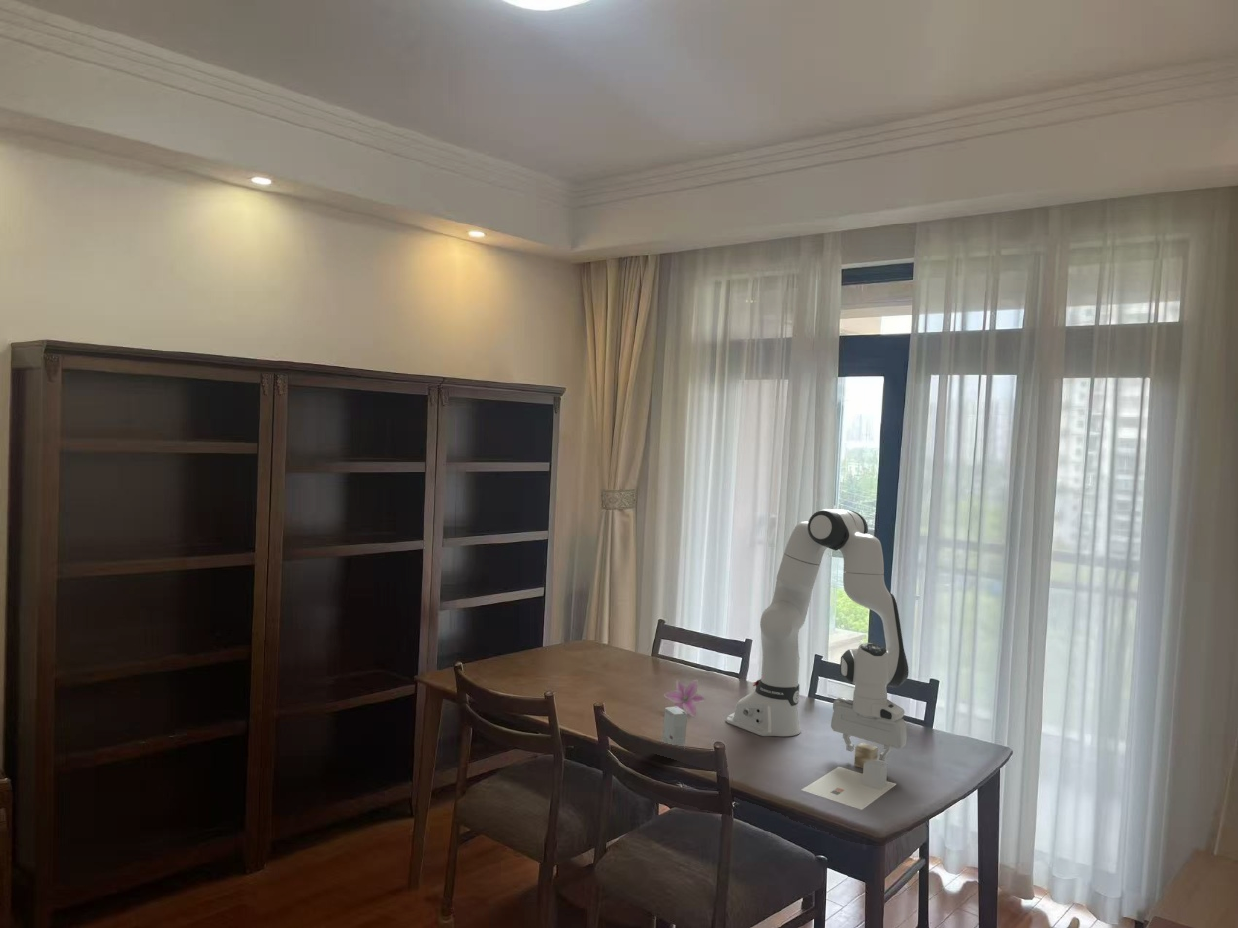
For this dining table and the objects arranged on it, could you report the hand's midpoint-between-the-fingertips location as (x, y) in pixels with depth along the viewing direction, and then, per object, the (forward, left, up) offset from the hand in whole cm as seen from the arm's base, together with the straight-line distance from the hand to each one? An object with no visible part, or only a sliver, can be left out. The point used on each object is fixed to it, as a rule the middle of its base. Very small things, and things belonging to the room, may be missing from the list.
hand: (866, 755), depth 238 cm
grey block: (+7, -11, -3) cm, 13 cm away
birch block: (0, 0, -3) cm, 3 cm away
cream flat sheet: (+3, -17, -3) cm, 18 cm away
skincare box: (-42, -31, -3) cm, 52 cm away
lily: (-60, +1, -3) cm, 61 cm away
